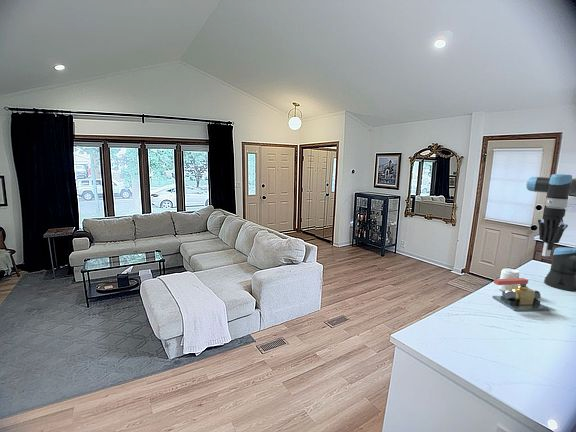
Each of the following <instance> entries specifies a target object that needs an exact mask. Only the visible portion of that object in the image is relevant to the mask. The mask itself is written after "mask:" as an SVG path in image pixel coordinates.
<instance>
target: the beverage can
mask: <svg viewBox="0 0 576 432" xmlns="http://www.w3.org/2000/svg"><path fill="white" fill-rule="evenodd" d="M519 277H520V271H519V270H517V269H513V268H511V267H510V268H509V267H508V268H507V267H504V268H502V270H501V273H500V276H499V279H512V278H519ZM513 285H519V284H513ZM498 290H500V291H502V292H503V291H509V290H510V285H498Z"/></svg>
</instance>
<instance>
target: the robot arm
mask: <svg viewBox="0 0 576 432" xmlns="http://www.w3.org/2000/svg"><path fill="white" fill-rule="evenodd" d="M526 189H527V191H530V192H535V193H536V192H537V193H546V194H547V195H546V199H545V206H544V209H543V213H542V214H543V215H544V216H543V218H542V219H537V223H538V231H539V232H538V234H539V236H538V237H539V240H540V241H542V242H543V243H542V246H541V248H542V253H541V256H542V257H551V253H552V251H553V248H554V244H558V243H559V242H560V240H561V238H562V236H563V234H564V232H565V230H566V229H567V228H568V227H569V225H568V224H565V222H564V219H563V218H564V217H565V215H566V211H567V209H566V208H567V206H568V201H569V197H570V196H569V195H571V196H576V177H574V178H573V175H572V174H564V173H561V174H560V173H557V174H556V173H555V174H551V175H550V177H543V176H531V177H529V178H528V179H527V181H526ZM551 260H552V261H551V264H550V270H549V271H548V273H547V275H546V277H544V280H543V283H544V284H545V285H547V286H550V287H552V288H555V289H559V290H564V291H571V292H572V291H573V292H574V291H575V292H576V247H575V248H574V247H561V246H559V247H556V248H554V251H553V254H552V259H551Z"/></svg>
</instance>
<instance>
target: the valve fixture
mask: <svg viewBox="0 0 576 432" xmlns="http://www.w3.org/2000/svg"><path fill="white" fill-rule="evenodd" d="M540 298H541V293H540V291H538V290H534V289H531V288H529V287H528V286H527V285H526V287H523V286H520V284H518V285H510V290H509V291H502V293H501V295H492V299H494V300H496V302H499V303H500V304H502V305H504V306H506V308H509V309H510V310H512V311H514V312H548V311H550V307H548V306H545V305H544V304H542V303H541V300H539V299H540Z"/></svg>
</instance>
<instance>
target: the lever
mask: <svg viewBox="0 0 576 432" xmlns="http://www.w3.org/2000/svg"><path fill="white" fill-rule="evenodd" d="M528 283H529V279H526V278H524V277H520V278H512V279H500V278H495V279H493V284H494V285H497V286H499V285H513V284H518V285H520V286H523V287H526V286H527V285H528Z"/></svg>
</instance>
